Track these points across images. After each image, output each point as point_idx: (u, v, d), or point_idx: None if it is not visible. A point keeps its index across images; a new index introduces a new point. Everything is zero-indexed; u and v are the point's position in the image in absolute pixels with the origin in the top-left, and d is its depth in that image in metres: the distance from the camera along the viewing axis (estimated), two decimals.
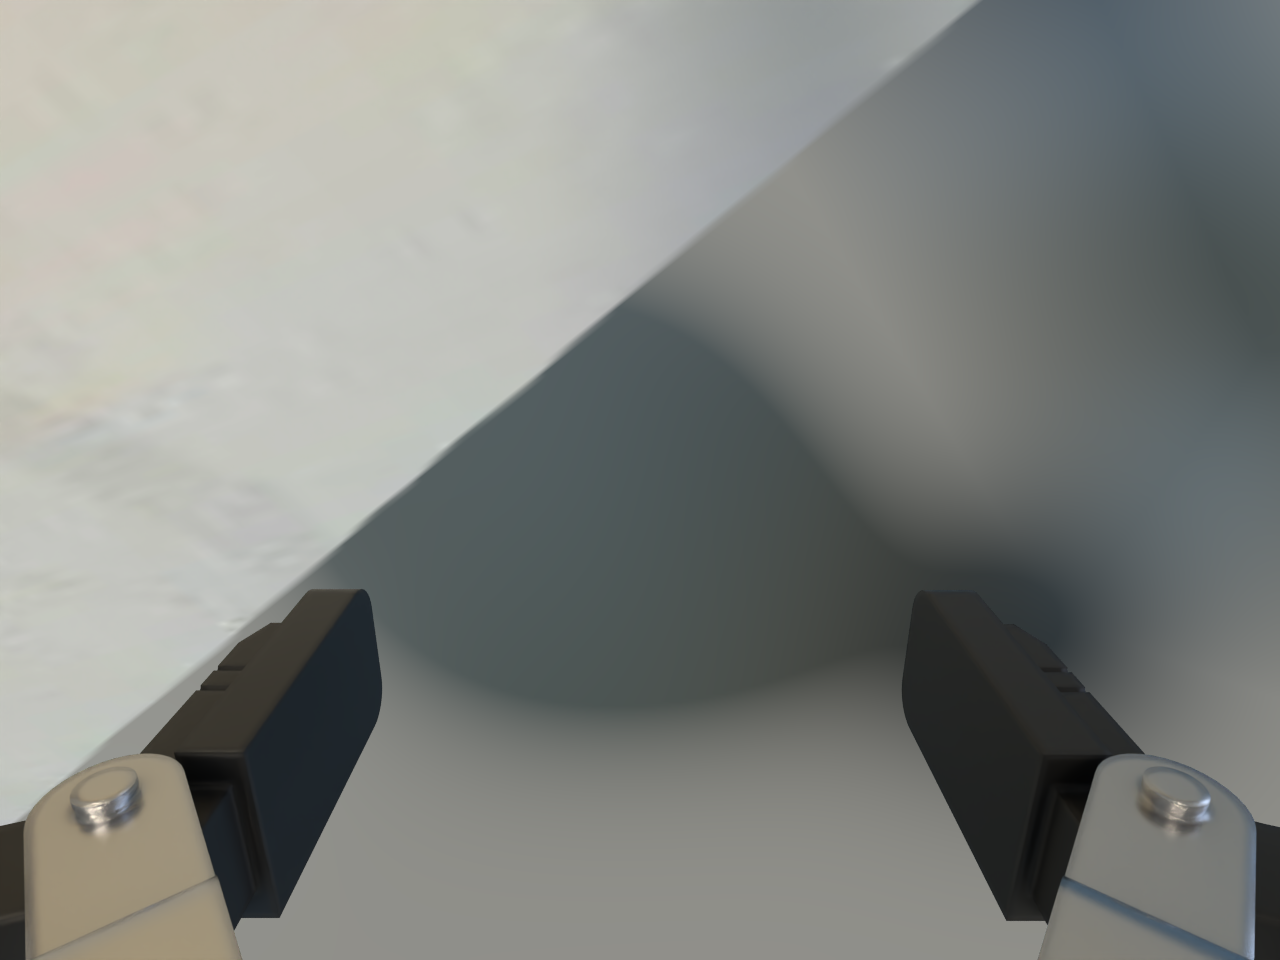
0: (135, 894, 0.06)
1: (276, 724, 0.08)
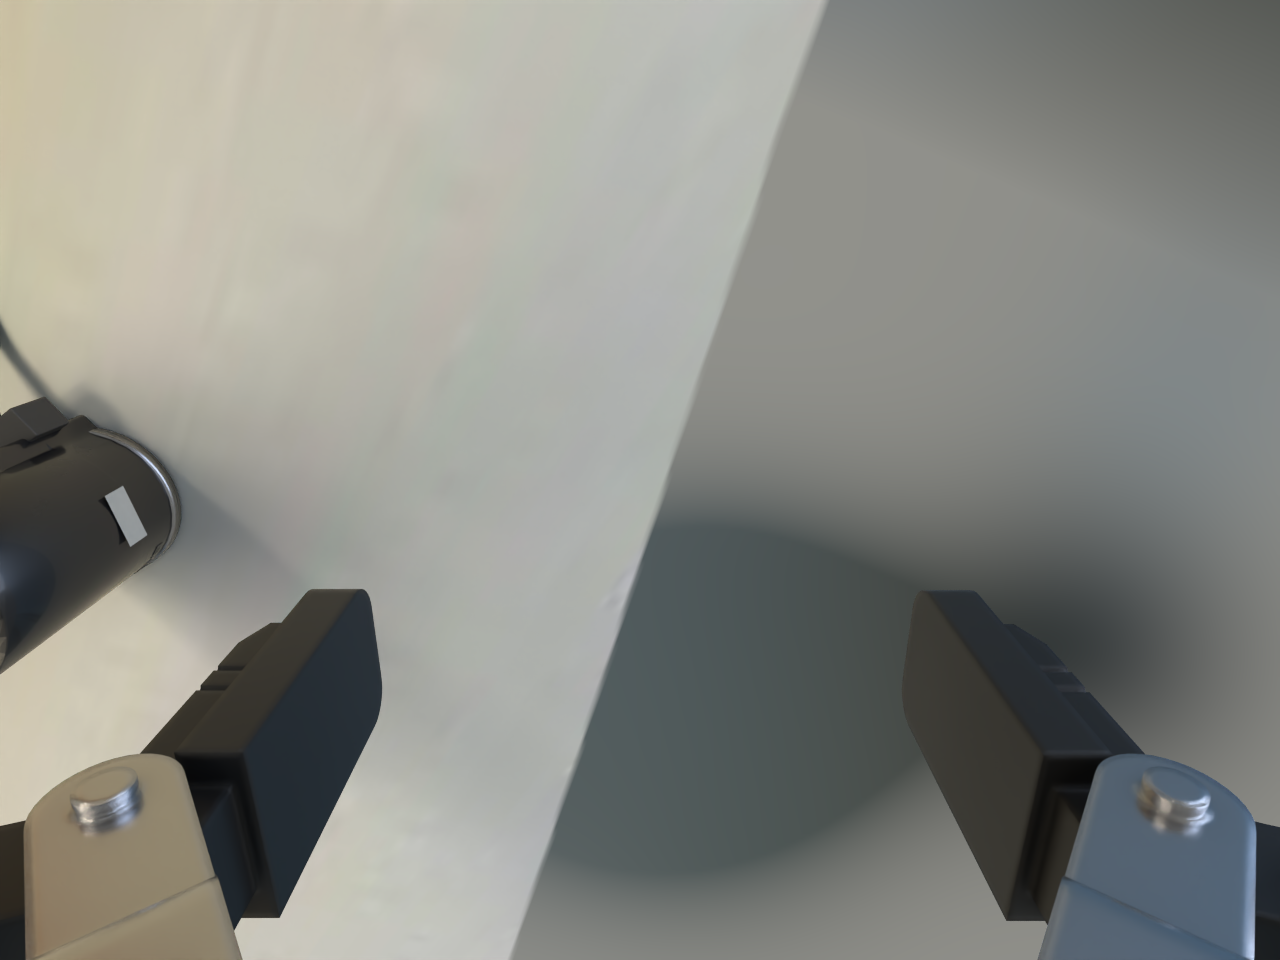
0: (135, 894, 0.06)
1: (276, 724, 0.08)
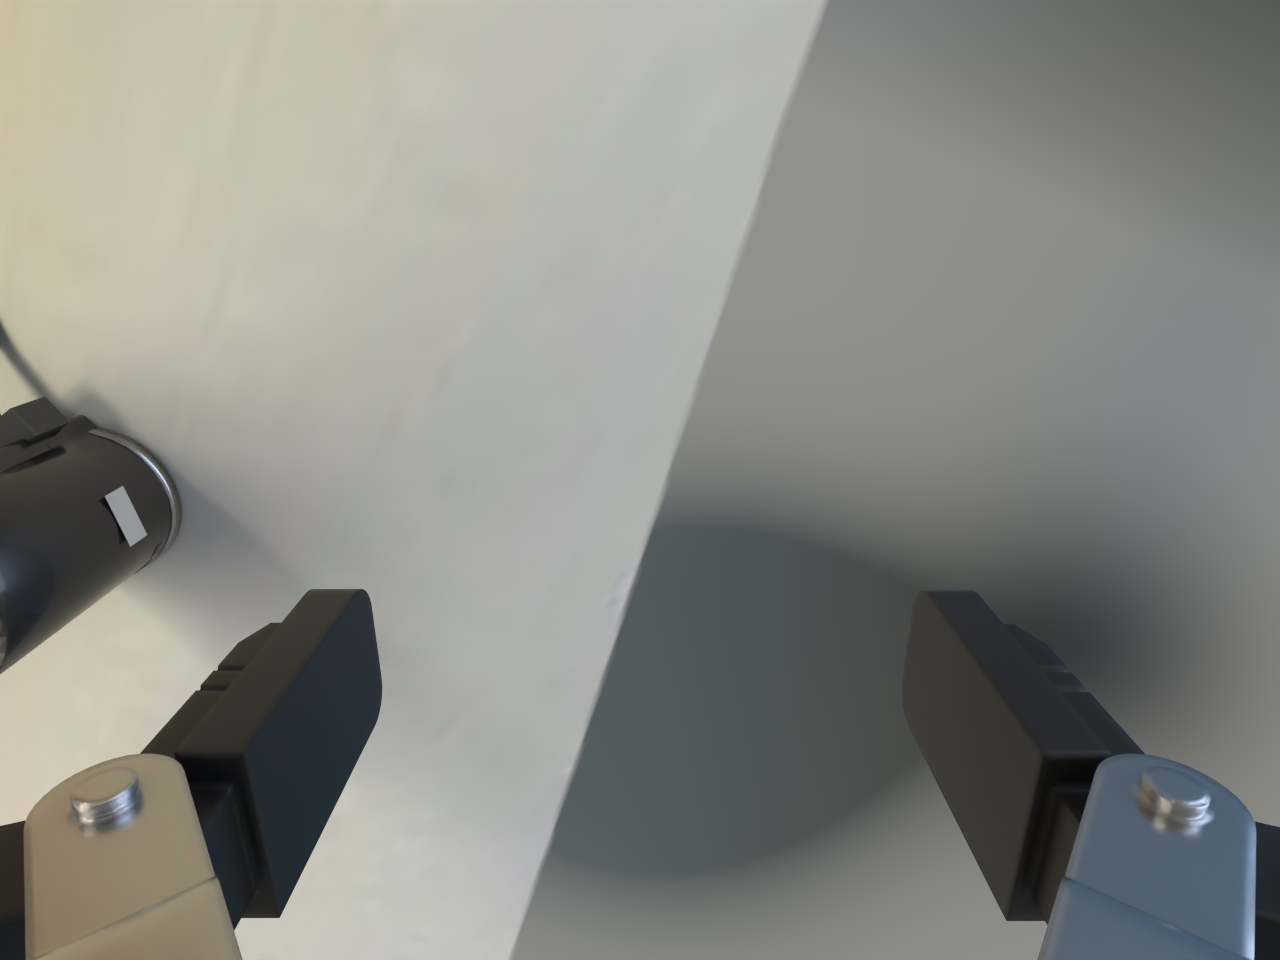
0: (135, 894, 0.06)
1: (276, 724, 0.08)
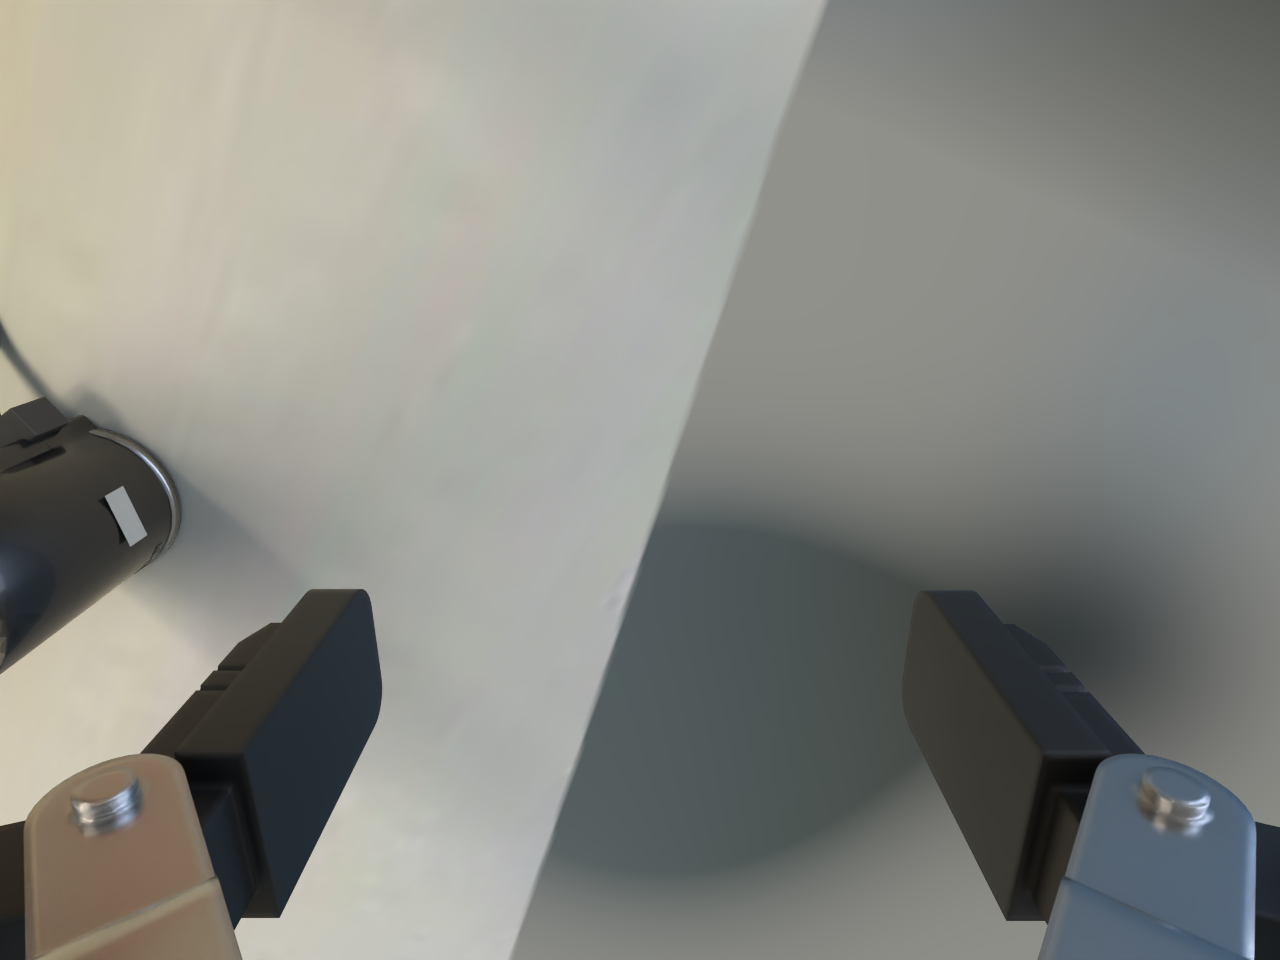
0: (135, 894, 0.06)
1: (276, 724, 0.08)
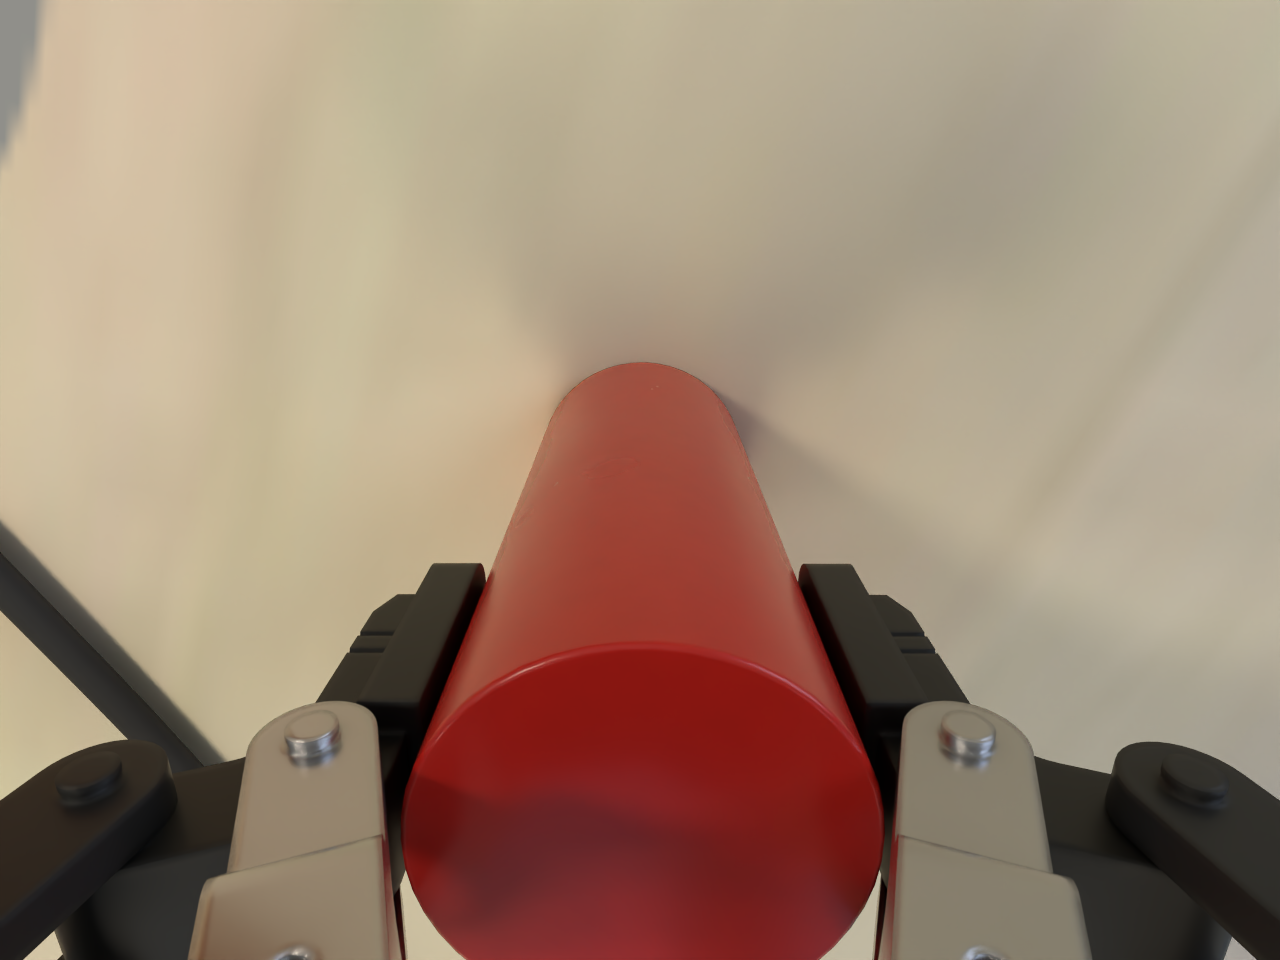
0: (318, 832, 0.07)
1: (435, 680, 0.09)
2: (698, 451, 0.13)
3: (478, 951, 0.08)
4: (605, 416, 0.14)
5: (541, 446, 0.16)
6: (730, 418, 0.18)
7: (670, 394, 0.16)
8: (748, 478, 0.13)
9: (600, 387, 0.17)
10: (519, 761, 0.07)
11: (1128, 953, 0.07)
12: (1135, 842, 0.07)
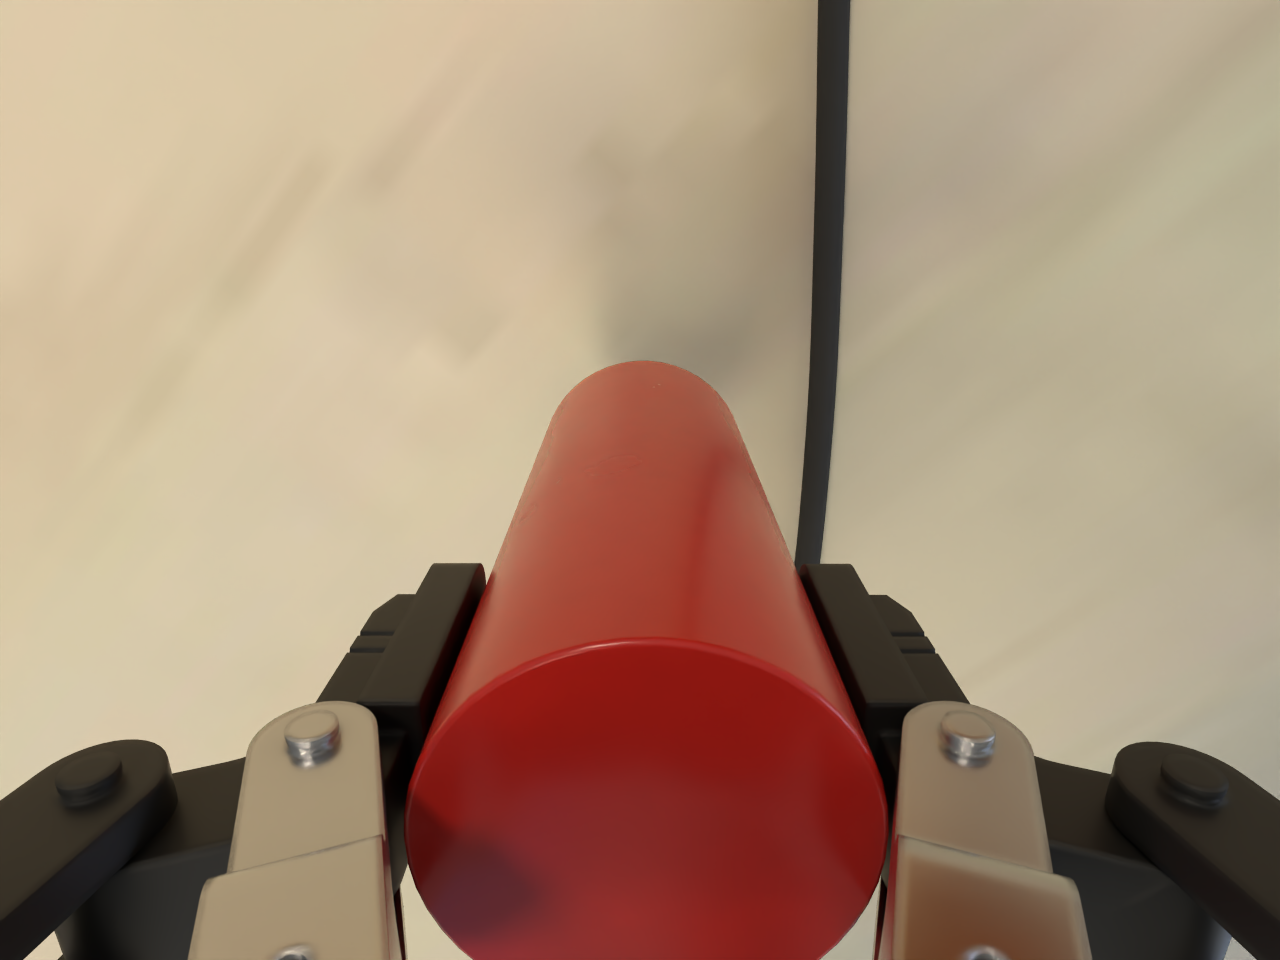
0: (318, 832, 0.07)
1: (435, 680, 0.09)
2: (701, 449, 0.13)
3: (481, 948, 0.08)
4: (606, 413, 0.14)
5: (543, 444, 0.16)
6: (732, 416, 0.18)
7: (672, 392, 0.16)
8: (750, 476, 0.13)
9: (602, 385, 0.17)
10: (522, 759, 0.07)
11: (1128, 953, 0.07)
12: (1135, 842, 0.07)
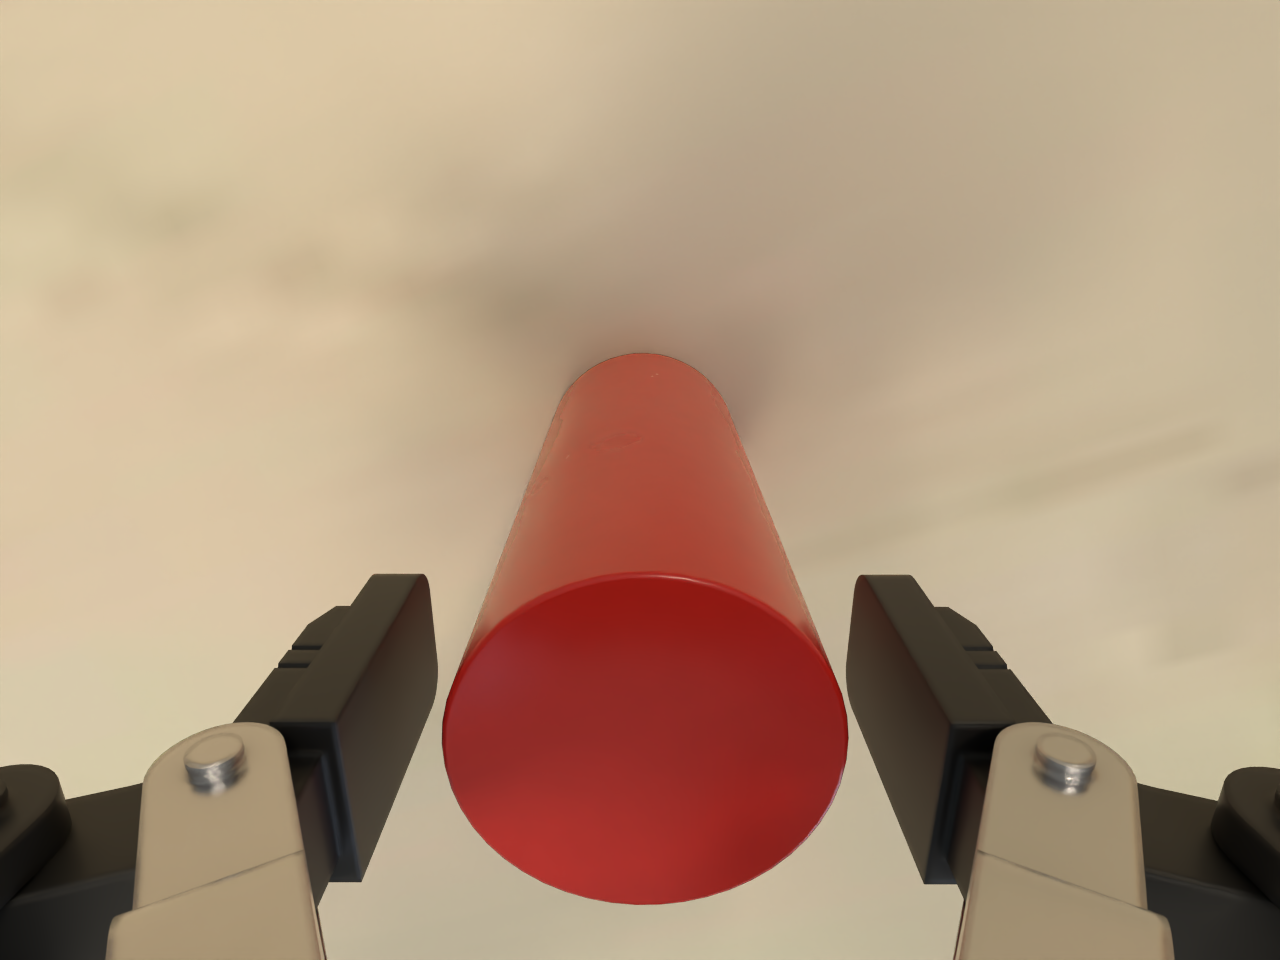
0: (231, 857, 0.06)
1: (359, 698, 0.09)
2: (694, 429, 0.14)
3: (505, 843, 0.10)
4: (610, 399, 0.16)
5: (551, 429, 0.17)
6: (724, 404, 0.19)
7: (669, 381, 0.17)
8: (739, 454, 0.15)
9: (604, 375, 0.18)
10: (542, 675, 0.09)
11: None
12: (1248, 874, 0.07)
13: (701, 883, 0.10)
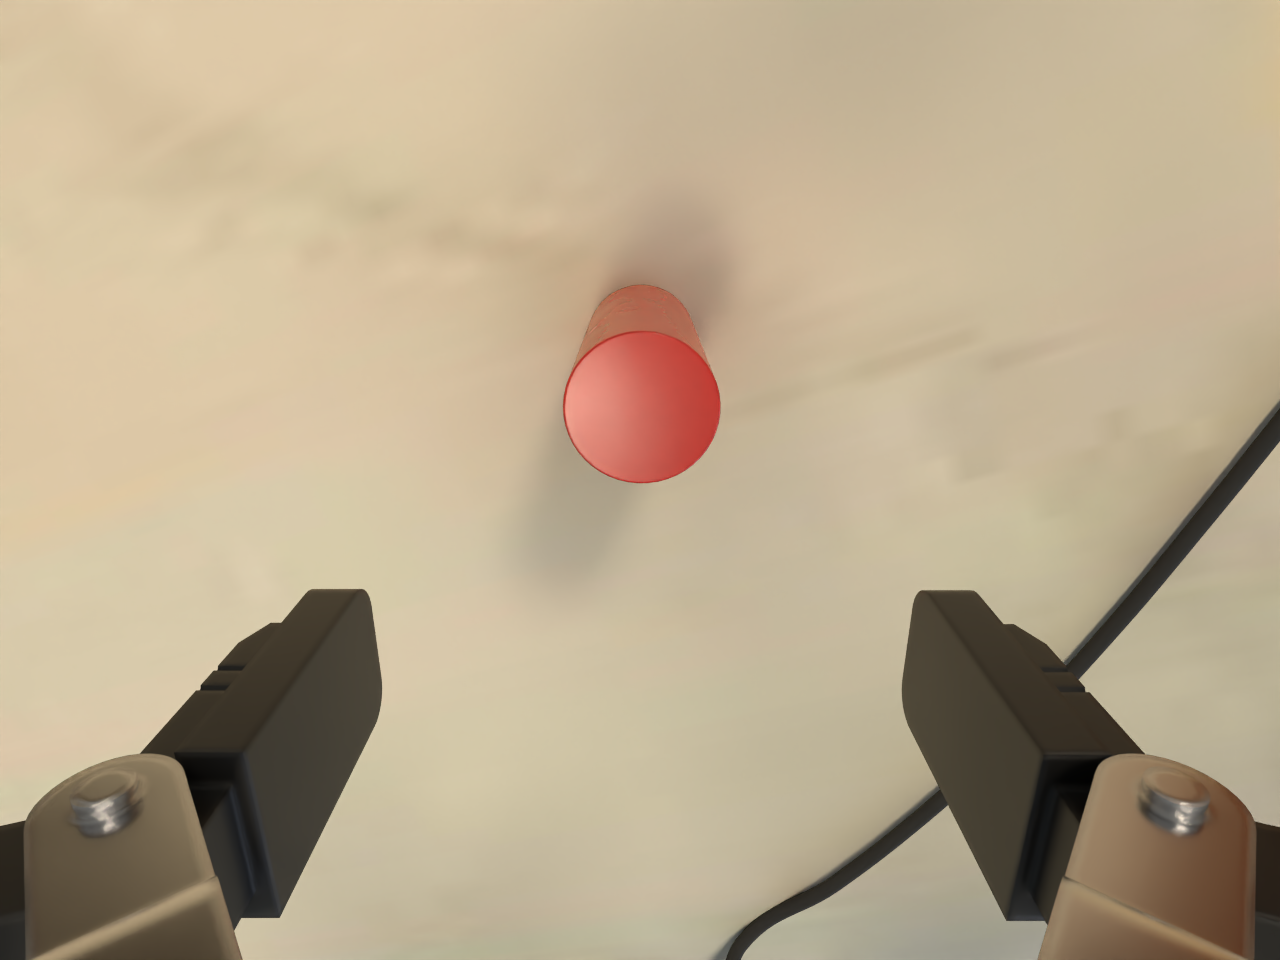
0: (135, 894, 0.06)
1: (276, 724, 0.08)
2: (666, 308, 0.29)
3: (586, 451, 0.24)
4: (624, 299, 0.30)
5: None
6: (687, 313, 0.34)
7: (655, 294, 0.32)
8: (689, 324, 0.29)
9: (620, 293, 0.33)
10: (603, 374, 0.23)
11: None
12: None
13: (664, 471, 0.25)
